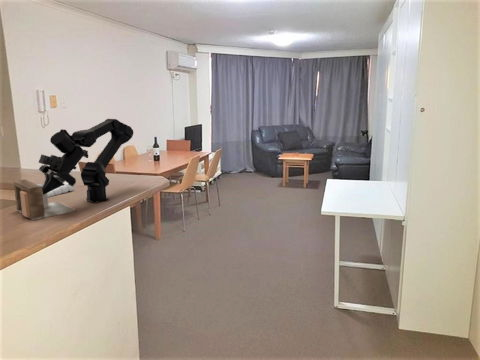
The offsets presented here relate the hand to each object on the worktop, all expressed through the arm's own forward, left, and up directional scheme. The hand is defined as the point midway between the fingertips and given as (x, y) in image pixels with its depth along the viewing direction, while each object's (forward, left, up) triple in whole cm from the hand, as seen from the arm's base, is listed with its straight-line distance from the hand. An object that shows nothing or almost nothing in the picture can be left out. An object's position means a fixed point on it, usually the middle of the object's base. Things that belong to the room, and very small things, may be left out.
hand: (41, 194), depth 137 cm
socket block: (-2, -4, -8) cm, 9 cm away
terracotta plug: (+3, 0, -7) cm, 8 cm away
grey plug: (-1, -7, -7) cm, 10 cm away
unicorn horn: (-12, -24, -8) cm, 28 cm away
